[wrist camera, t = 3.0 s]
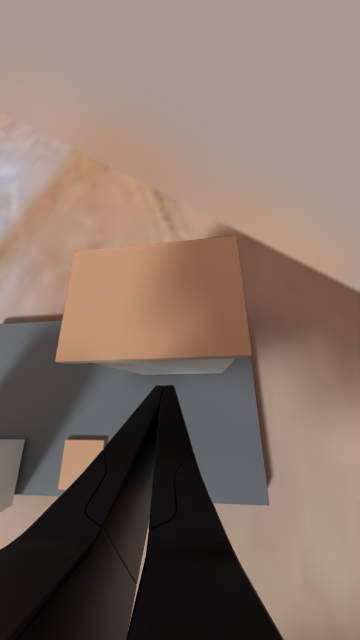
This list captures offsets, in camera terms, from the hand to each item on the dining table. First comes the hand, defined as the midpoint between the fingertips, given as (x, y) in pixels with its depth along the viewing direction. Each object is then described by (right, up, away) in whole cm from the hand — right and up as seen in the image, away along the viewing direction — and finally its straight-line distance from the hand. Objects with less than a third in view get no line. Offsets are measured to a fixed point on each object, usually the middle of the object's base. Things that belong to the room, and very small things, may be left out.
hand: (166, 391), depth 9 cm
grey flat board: (-6, -3, +8) cm, 10 cm away
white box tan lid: (+1, +1, +7) cm, 7 cm away
